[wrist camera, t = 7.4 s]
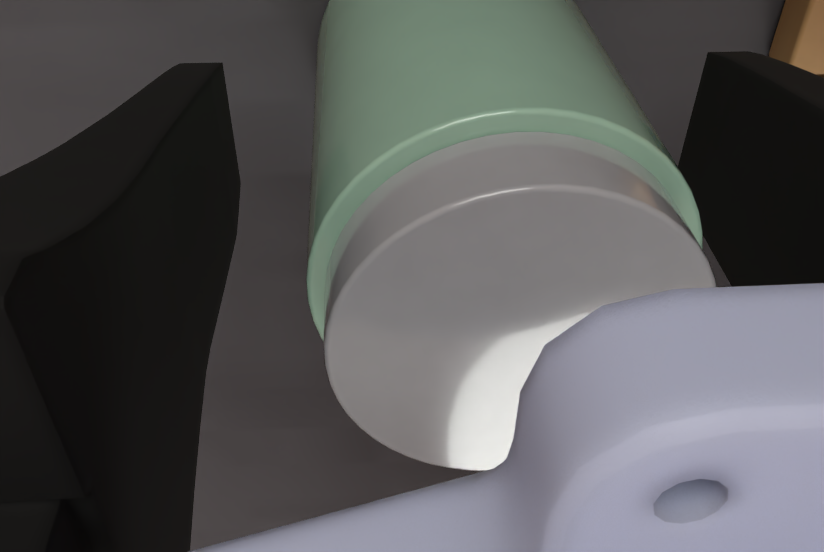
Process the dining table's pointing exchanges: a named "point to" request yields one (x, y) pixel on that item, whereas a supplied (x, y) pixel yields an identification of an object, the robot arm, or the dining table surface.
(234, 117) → the dining table surface
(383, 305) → the salt shaker
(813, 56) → the salad fork
